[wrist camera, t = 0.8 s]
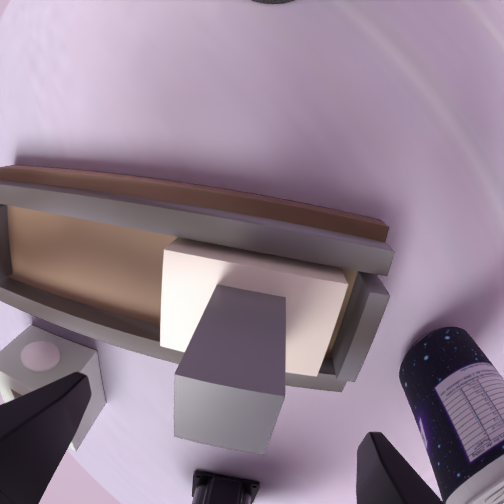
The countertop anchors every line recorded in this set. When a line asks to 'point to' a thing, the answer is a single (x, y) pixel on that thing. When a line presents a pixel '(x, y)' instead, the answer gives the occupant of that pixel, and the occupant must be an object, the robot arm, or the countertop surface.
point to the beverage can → (458, 414)
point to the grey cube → (50, 370)
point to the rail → (152, 251)
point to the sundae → (272, 1)
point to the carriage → (242, 336)
